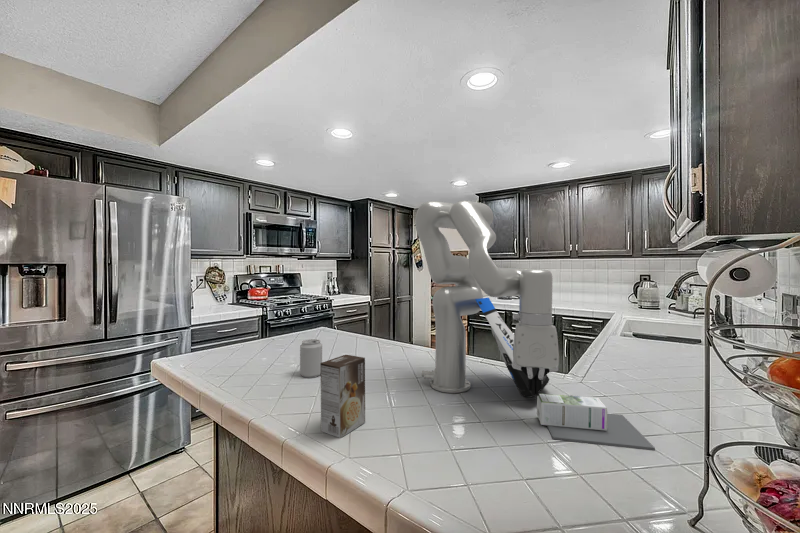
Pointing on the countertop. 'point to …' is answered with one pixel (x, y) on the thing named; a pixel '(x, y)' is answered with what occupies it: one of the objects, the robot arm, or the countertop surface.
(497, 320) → the protein powder
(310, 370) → the can
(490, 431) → the countertop surface
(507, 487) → the countertop surface
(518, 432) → the countertop surface
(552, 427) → the mat
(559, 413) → the syrup box
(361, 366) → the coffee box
